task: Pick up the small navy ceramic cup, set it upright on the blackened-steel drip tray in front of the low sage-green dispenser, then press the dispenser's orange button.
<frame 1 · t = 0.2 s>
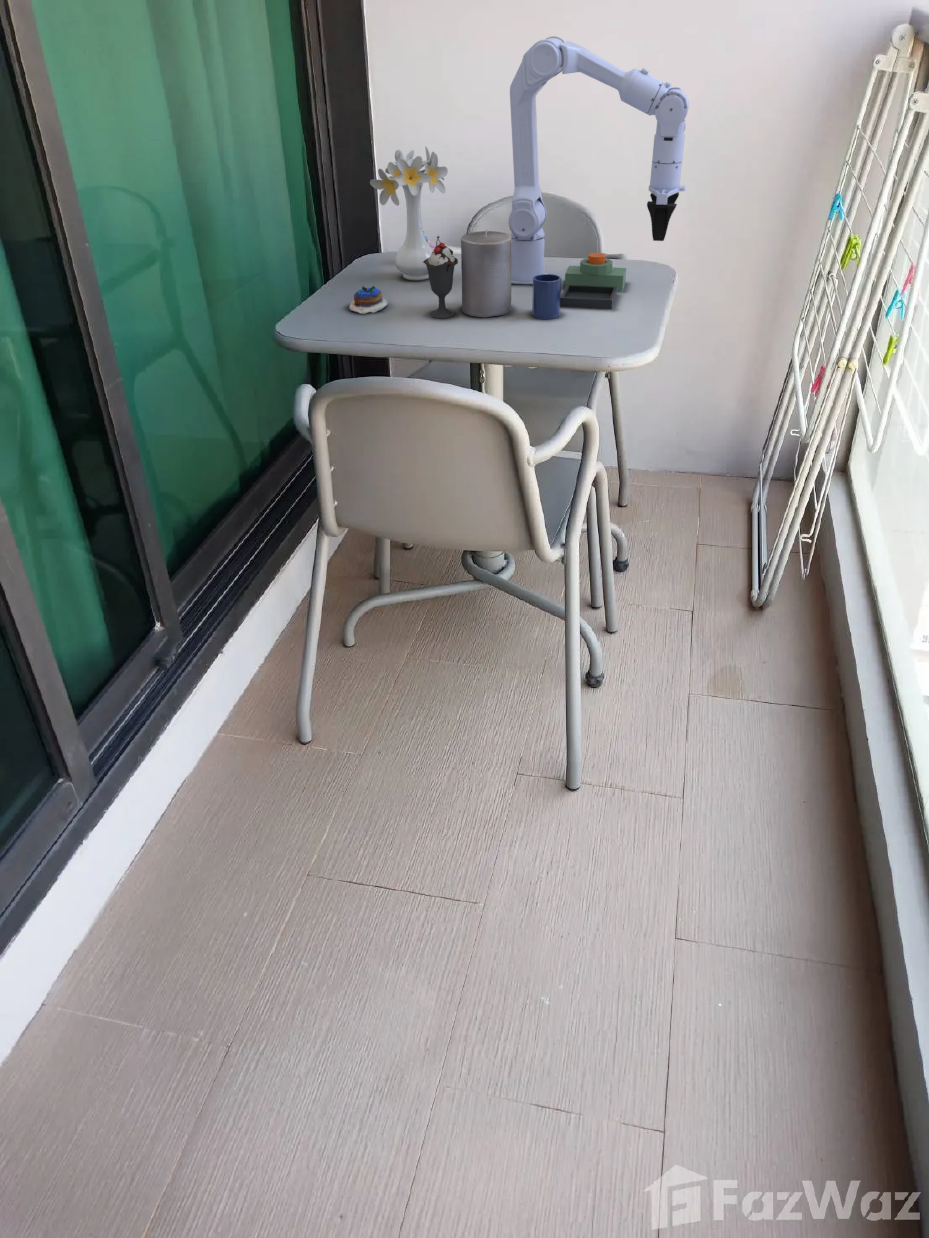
hand: (659, 235, 182), 10 cm above the table, tool pointing down, fingers open, 7 cm apart
flower vase: (417, 278, 198), on the table
pillar candle: (486, 311, 178), on the table
sundae: (442, 315, 176), on the table
drip tray: (588, 301, 181), on the table
dessert: (368, 308, 181), on the table
cup: (546, 315, 174), on the table
button: (596, 259, 186), point 5 cm above the table, slide at 0.1 cm
rabbit figure: (419, 259, 211), on the table
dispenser: (594, 286, 189), on the table
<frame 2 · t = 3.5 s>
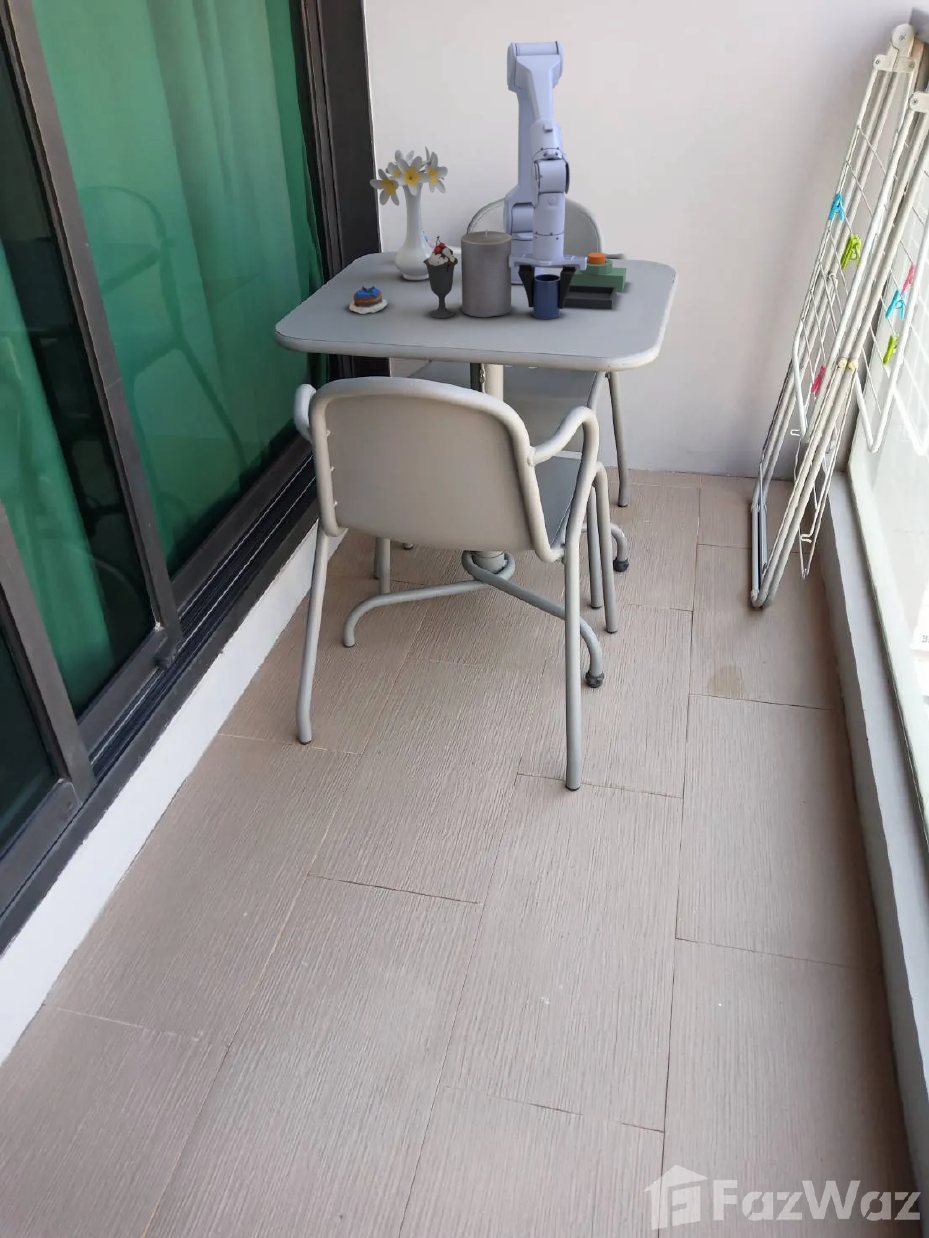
hand: (546, 306, 174), 2 cm above the table, tool pointing down, fingers closed on cup, 5 cm apart
cup: (546, 315, 174), on the table, touching gripper
everything else where it was.
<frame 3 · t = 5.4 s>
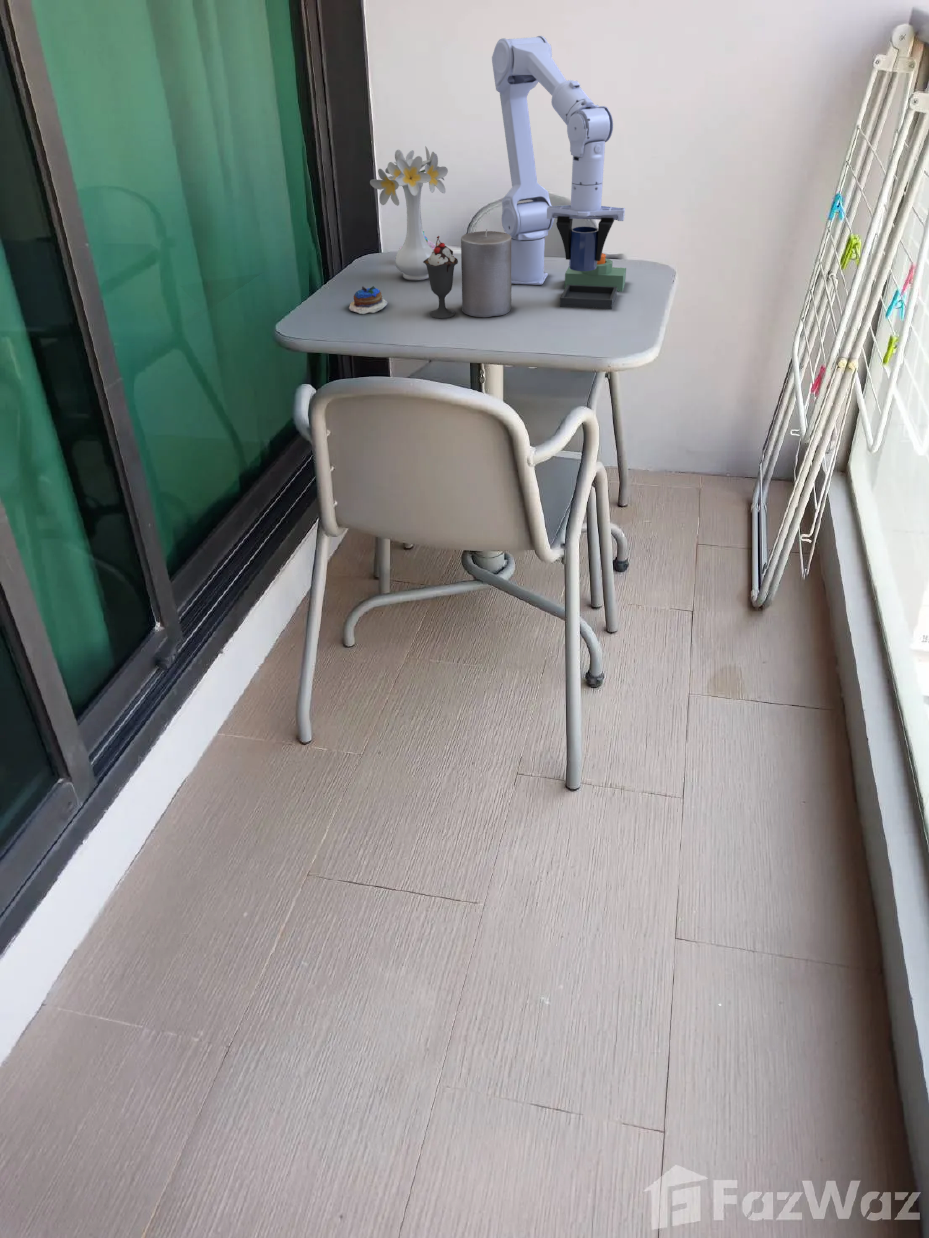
hand: (583, 259, 175), 9 cm above the table, tool pointing down, fingers closed on cup, 5 cm apart
cup: (582, 267, 176), point 7 cm above the table, touching gripper
everything else where it was.
when the fingers open (2 cm above the table, at t = 7.7 s): cup stays where it is, resting on drip tray.
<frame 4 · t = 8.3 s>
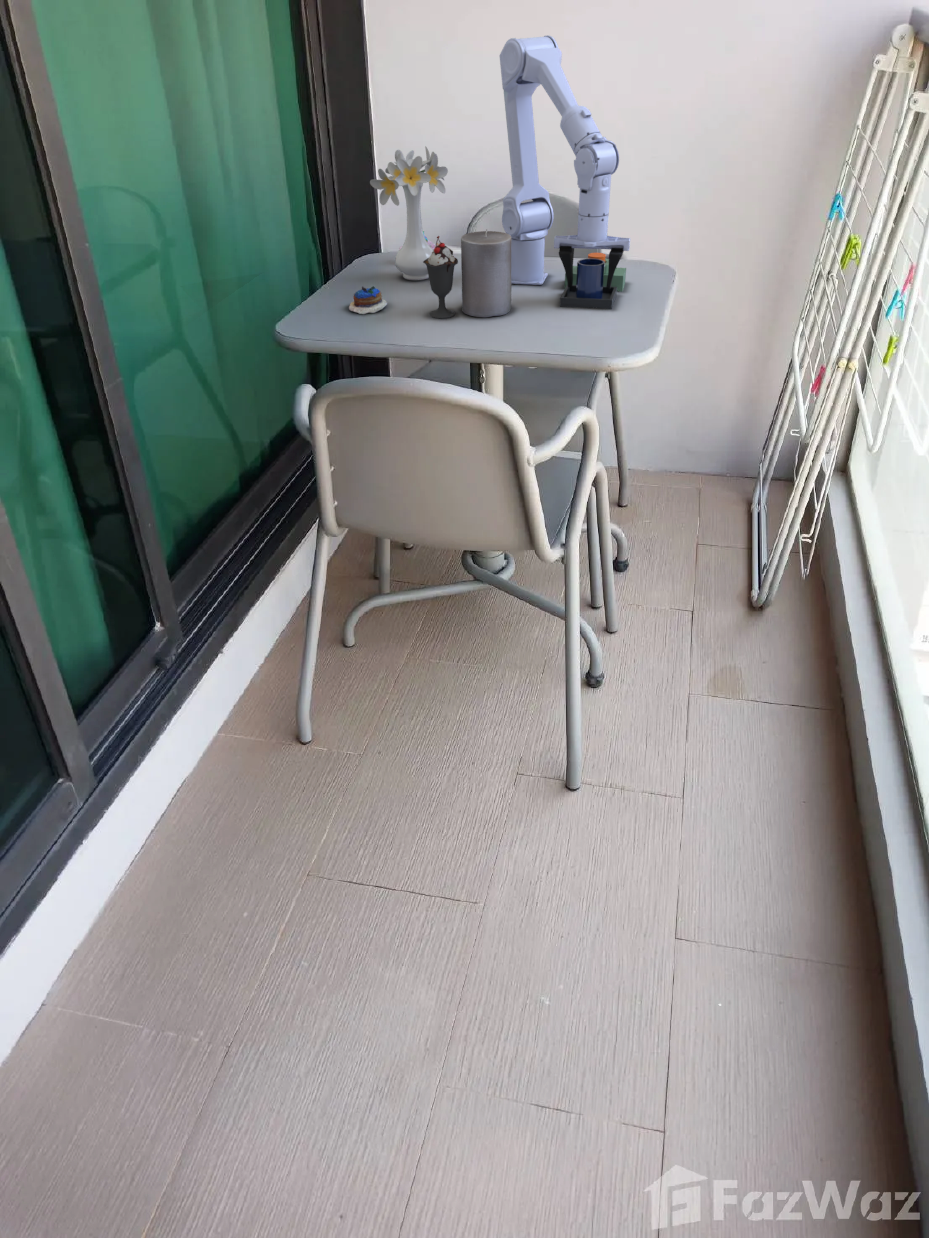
hand: (589, 287, 179), 3 cm above the table, tool pointing down, fingers open, 7 cm apart
cup: (589, 298, 181), point 1 cm above the table, touching drip tray
everything else where it was.
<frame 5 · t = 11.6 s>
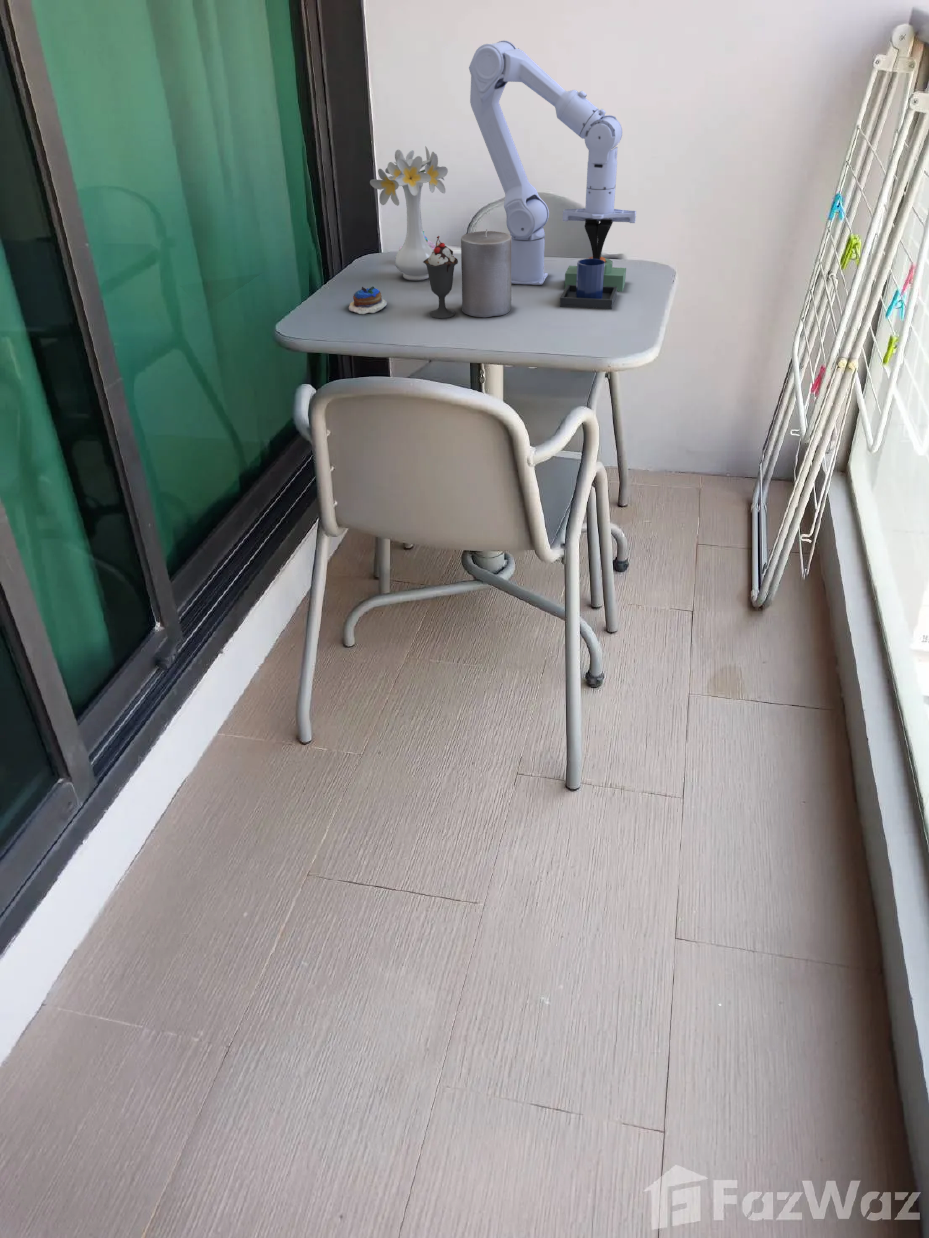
hand: (596, 258, 186), 6 cm above the table, tool pointing down, fingers closed, pressing on button
button: (596, 263, 186), point 5 cm above the table, slide at -0.7 cm, touching gripper
everything else where it was.
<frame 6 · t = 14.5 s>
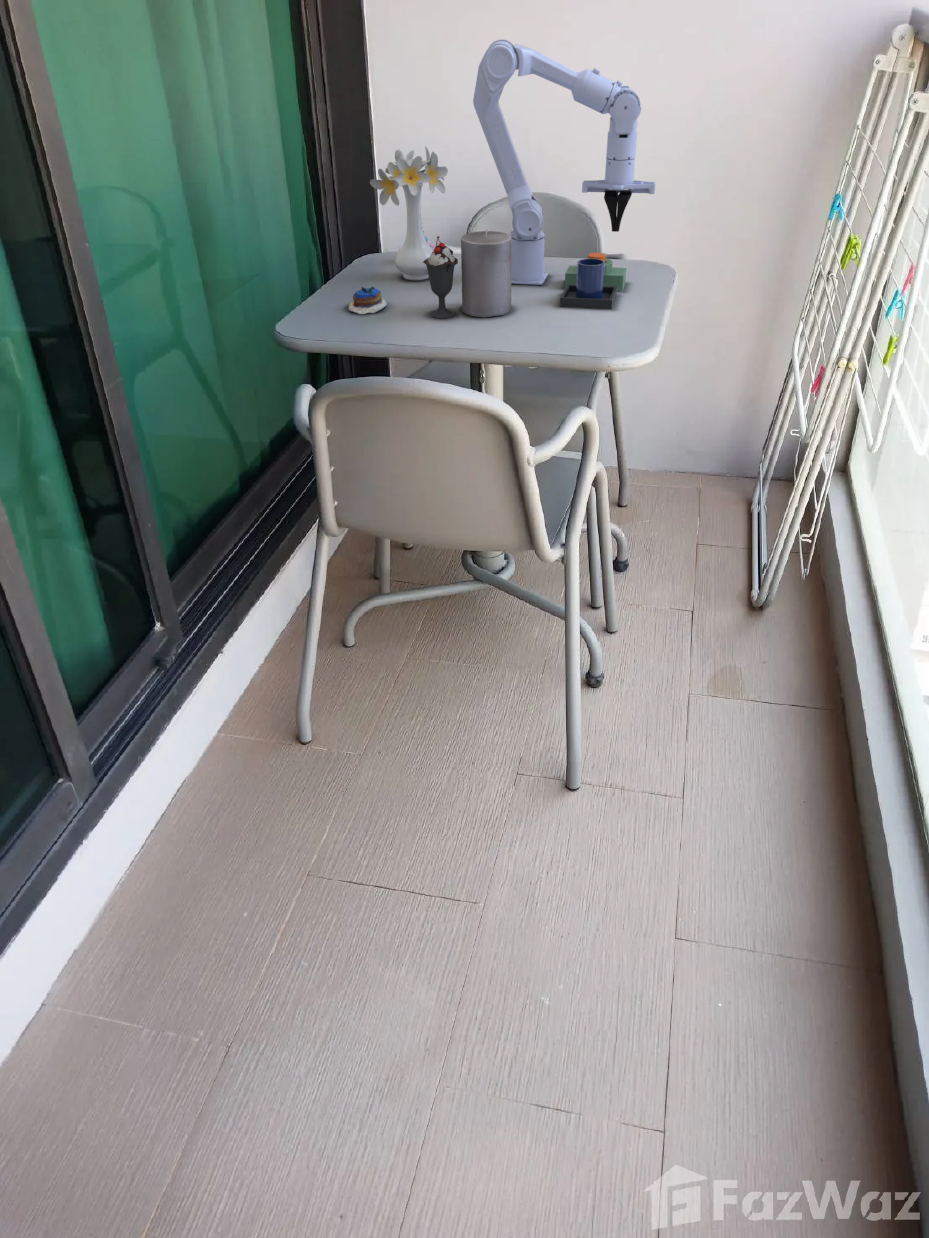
hand: (615, 230, 187), 10 cm above the table, tool pointing down, fingers closed
button: (596, 259, 186), point 5 cm above the table, slide at 0.1 cm
everything else where it was.
at the end: cup 0.1 cm off-centre in the drip tray, point 0.6 cm above the drip tray's base; cup tilted 0°; button pushed in 1.2 cm at the most during the clip, back to where it started at the end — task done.
